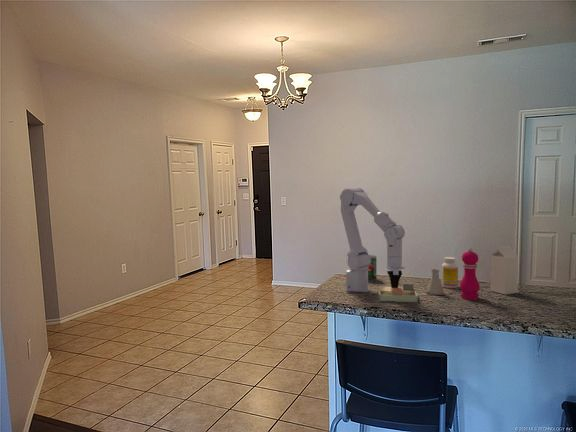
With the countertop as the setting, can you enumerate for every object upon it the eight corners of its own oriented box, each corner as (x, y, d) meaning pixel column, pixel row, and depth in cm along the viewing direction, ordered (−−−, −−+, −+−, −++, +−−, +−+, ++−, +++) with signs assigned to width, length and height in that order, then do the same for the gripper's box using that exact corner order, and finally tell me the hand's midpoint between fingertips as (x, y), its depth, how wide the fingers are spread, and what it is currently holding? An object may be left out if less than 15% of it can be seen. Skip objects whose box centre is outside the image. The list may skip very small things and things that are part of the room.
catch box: (379, 301, 160) (379, 294, 160) (378, 297, 166) (378, 291, 166) (418, 302, 158) (418, 296, 158) (416, 298, 164) (416, 292, 163)
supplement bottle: (460, 288, 178) (460, 259, 177) (444, 288, 178) (444, 259, 177) (454, 284, 185) (454, 256, 184) (439, 285, 185) (439, 256, 184)
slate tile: (403, 290, 167) (403, 284, 167) (402, 287, 171) (402, 281, 171) (413, 290, 166) (413, 284, 166) (412, 288, 170) (412, 282, 170)
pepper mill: (481, 300, 159) (482, 249, 157) (461, 299, 160) (462, 248, 159) (477, 295, 166) (477, 246, 164) (457, 295, 167) (458, 246, 166)
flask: (447, 295, 167) (447, 271, 167) (429, 295, 168) (429, 271, 167) (440, 291, 175) (441, 267, 174) (423, 291, 175) (423, 267, 174)
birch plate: (379, 297, 166) (379, 290, 166) (378, 292, 174) (378, 286, 174) (415, 298, 164) (415, 291, 164) (412, 293, 172) (412, 287, 172)
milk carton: (517, 293, 169) (518, 247, 168) (504, 295, 166) (505, 248, 165) (502, 289, 176) (503, 245, 174) (490, 291, 173) (491, 246, 172)
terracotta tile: (390, 297, 163) (391, 299, 160) (390, 287, 162) (391, 290, 160) (401, 297, 162) (402, 300, 160) (401, 288, 162) (402, 290, 159)
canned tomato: (361, 280, 196) (361, 257, 195) (358, 277, 204) (358, 255, 203) (378, 280, 195) (377, 257, 195) (375, 277, 203) (375, 255, 203)
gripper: (406, 258, 157) (406, 293, 158) (403, 252, 172) (403, 285, 172) (387, 258, 159) (387, 293, 159) (385, 252, 173) (385, 284, 174)
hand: (394, 289), depth 166 cm, fingers closed
